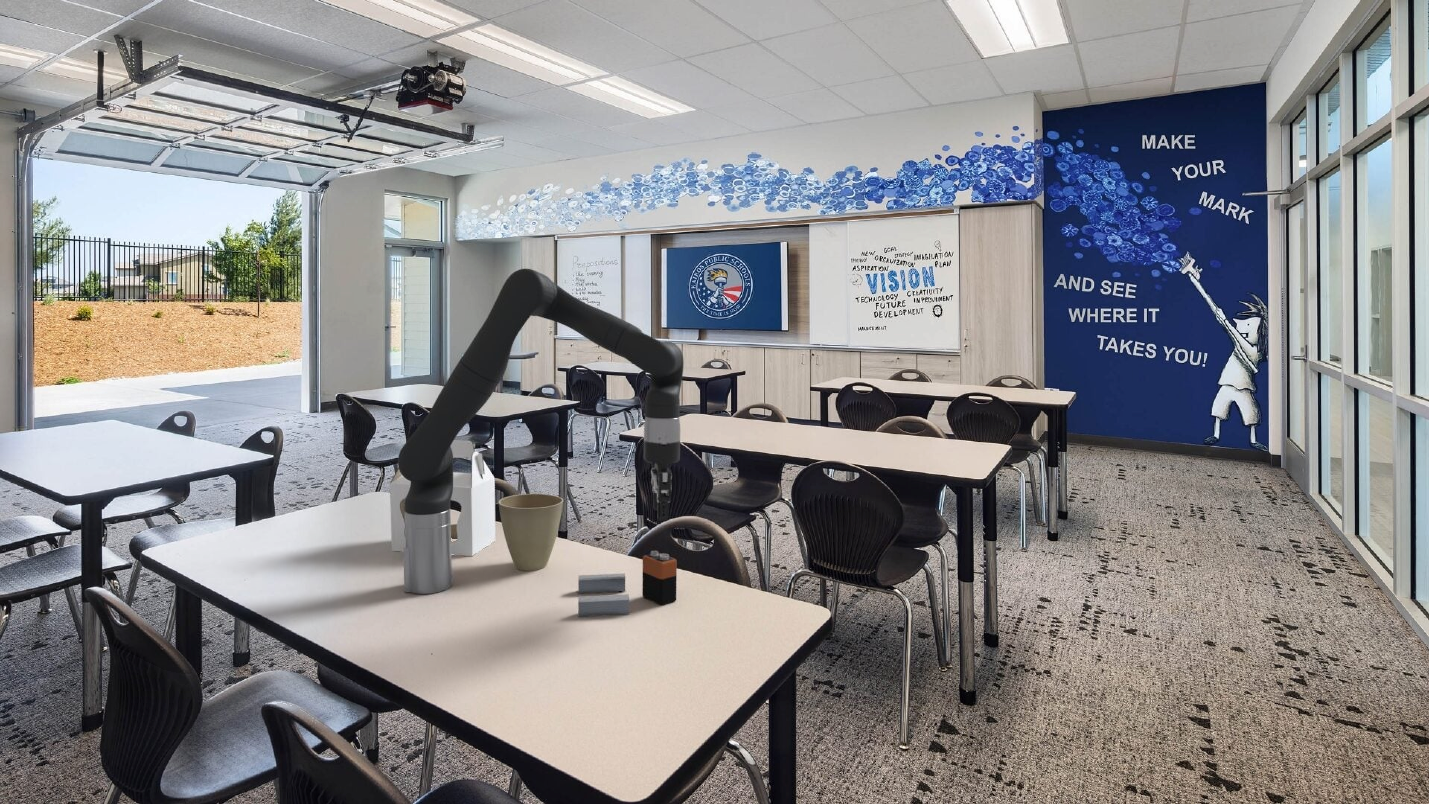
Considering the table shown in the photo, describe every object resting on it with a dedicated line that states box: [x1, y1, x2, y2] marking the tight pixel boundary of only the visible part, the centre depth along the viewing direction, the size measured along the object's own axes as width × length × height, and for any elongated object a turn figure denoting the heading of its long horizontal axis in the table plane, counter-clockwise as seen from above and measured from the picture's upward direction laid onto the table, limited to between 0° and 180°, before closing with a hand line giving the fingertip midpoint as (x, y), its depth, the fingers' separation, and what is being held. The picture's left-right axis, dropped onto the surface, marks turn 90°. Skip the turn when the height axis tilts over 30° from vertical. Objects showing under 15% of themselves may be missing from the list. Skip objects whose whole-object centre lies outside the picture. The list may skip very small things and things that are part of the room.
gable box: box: [389, 439, 496, 557], centre depth 193 cm, size 22×13×28 cm, turn 81°
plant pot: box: [498, 493, 564, 571], centre depth 179 cm, size 15×15×16 cm
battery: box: [641, 550, 678, 606], centre depth 159 cm, size 4×7×10 cm, turn 42°
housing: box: [577, 573, 630, 618], centre depth 157 cm, size 10×15×3 cm, turn 10°
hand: (660, 515), depth 158 cm, fingers open, 8 cm apart
